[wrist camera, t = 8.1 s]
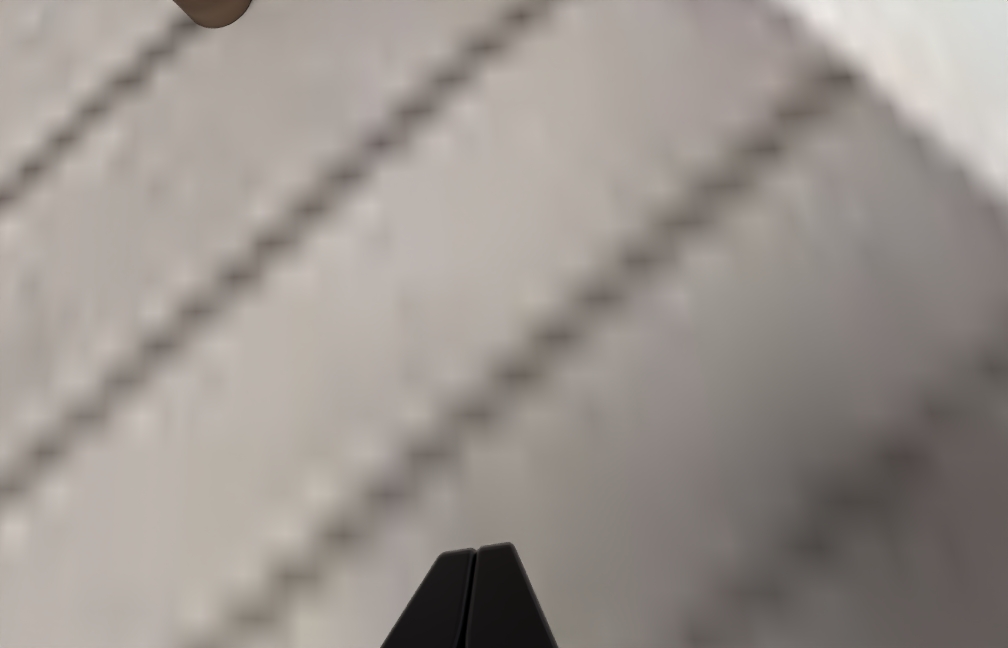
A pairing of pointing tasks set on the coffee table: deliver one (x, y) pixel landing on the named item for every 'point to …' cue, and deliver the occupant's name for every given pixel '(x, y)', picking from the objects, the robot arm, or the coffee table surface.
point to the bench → (213, 11)
